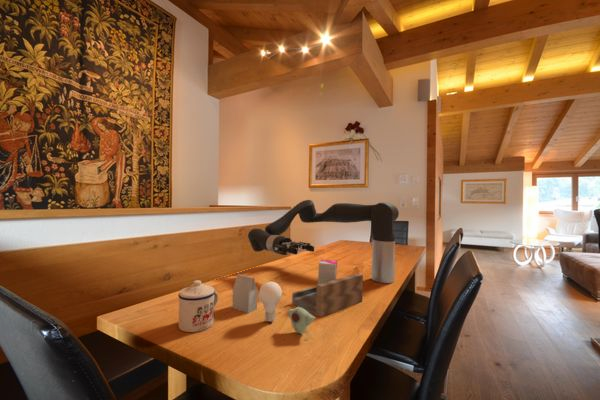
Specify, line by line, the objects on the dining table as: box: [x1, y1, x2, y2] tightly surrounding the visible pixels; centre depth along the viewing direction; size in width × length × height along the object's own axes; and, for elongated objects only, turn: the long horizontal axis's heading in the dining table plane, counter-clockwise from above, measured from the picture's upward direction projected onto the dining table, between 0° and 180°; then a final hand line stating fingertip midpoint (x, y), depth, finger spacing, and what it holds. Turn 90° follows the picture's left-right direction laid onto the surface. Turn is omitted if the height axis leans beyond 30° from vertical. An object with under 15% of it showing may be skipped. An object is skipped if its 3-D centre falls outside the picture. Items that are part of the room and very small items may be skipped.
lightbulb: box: [258, 281, 283, 323], centre depth 75 cm, size 6×6×11 cm
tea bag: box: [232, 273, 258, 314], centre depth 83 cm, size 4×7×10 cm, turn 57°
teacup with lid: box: [177, 279, 219, 333], centre depth 73 cm, size 12×9×12 cm
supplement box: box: [317, 259, 338, 285], centre depth 90 cm, size 6×6×12 cm
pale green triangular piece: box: [287, 306, 317, 334], centre depth 69 cm, size 8×4×7 cm, turn 56°
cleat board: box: [291, 273, 364, 318], centre depth 90 cm, size 20×13×9 cm, turn 131°
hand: (305, 250), depth 101 cm, fingers open, 8 cm apart
